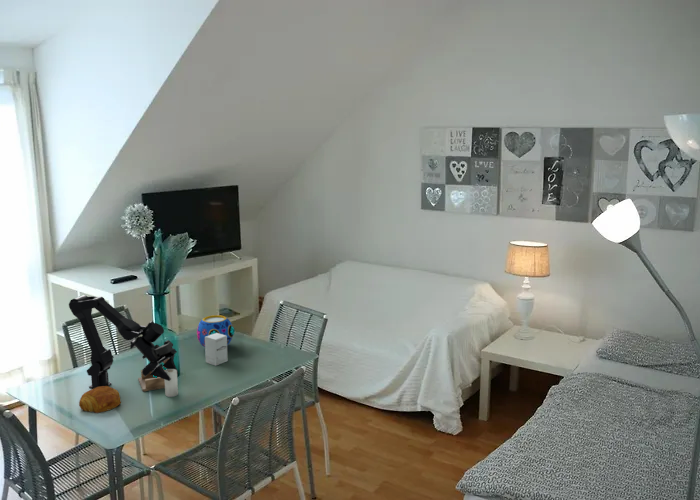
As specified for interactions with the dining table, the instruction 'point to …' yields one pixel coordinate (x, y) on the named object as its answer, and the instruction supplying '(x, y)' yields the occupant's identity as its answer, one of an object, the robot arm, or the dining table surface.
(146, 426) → the dining table surface
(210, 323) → the ceramic pot
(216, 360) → the supplement box
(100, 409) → the croissant
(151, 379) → the cradle
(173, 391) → the paper roll
